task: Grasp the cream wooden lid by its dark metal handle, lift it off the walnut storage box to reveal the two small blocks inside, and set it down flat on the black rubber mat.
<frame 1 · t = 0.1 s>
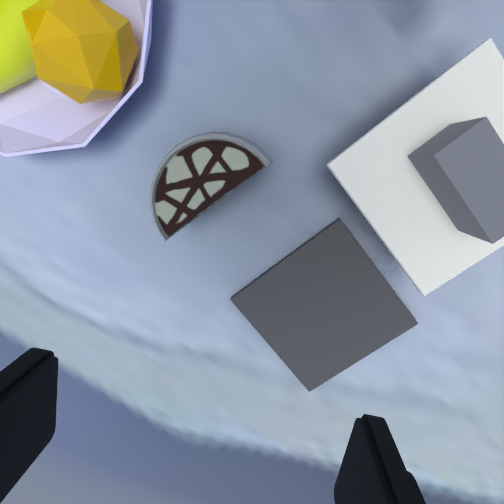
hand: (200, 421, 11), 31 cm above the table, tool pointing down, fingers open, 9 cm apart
lid: (447, 178, 30), point 8 cm above the table, touching storage box
fruit bowl: (57, 22, 37), on the table
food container: (213, 171, 40), on the table
rubber mat: (322, 308, 43), on the table
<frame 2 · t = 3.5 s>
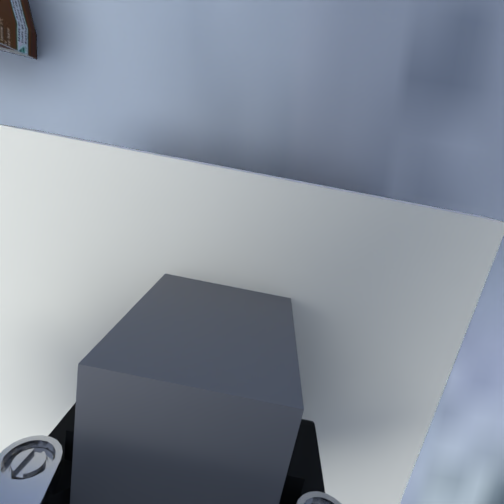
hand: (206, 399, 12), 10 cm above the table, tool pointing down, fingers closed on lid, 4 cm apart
lid: (214, 373, 13), point 8 cm above the table, touching gripper, storage box
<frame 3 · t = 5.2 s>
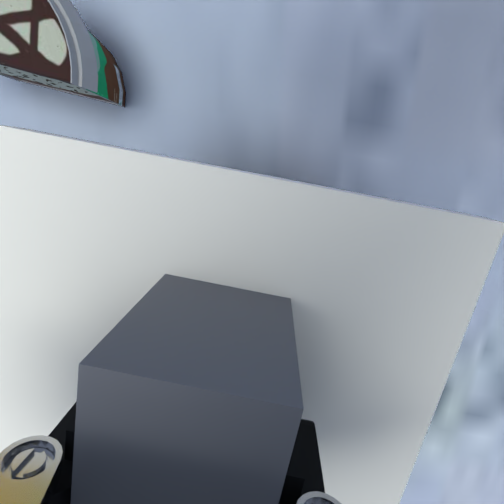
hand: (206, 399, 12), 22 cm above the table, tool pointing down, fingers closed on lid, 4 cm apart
lid: (214, 373, 13), point 20 cm above the table, touching gripper
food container: (77, 56, 29), on the table
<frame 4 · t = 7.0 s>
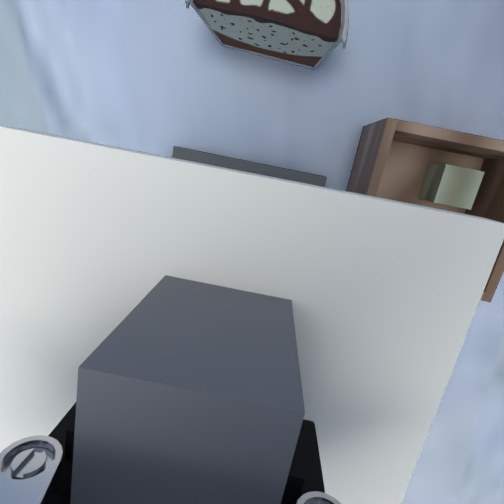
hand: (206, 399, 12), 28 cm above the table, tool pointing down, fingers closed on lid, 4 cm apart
lid: (214, 374, 13), point 26 cm above the table, touching gripper
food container: (276, 23, 33), on the table
storage box: (407, 203, 37), on the table
rubber mat: (236, 234, 39), on the table
sage block: (441, 184, 35), point 1 cm above the table, touching storage box
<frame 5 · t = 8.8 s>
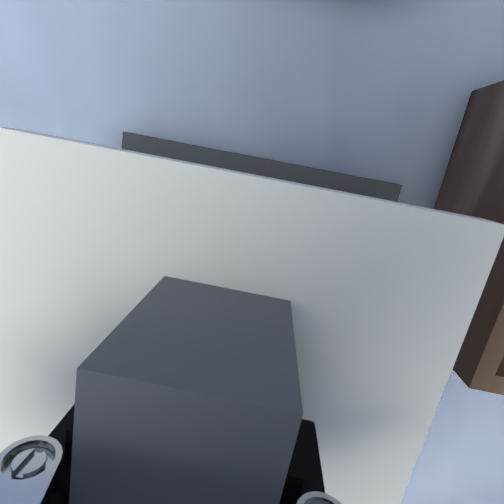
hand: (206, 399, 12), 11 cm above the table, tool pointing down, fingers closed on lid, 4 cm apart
lid: (214, 375, 13), point 10 cm above the table, touching gripper
rubber mat: (238, 284, 23), on the table
when the fingers open (4 cm above the table, at t = 10.4 s): lid drops 2 cm, resting on rubber mat.
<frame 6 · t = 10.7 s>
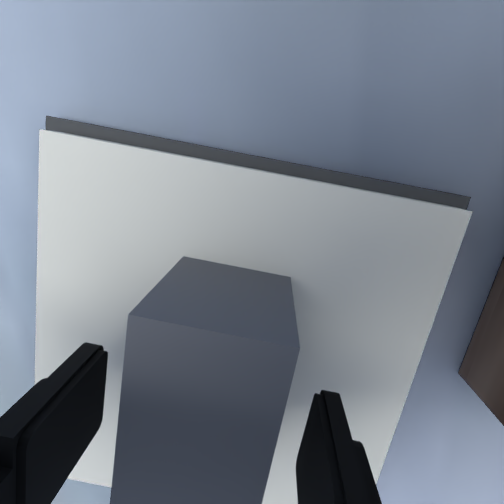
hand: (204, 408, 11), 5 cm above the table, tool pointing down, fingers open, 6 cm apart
lid: (224, 345, 15), point 1 cm above the table, touching rubber mat
rubber mat: (224, 336, 16), on the table
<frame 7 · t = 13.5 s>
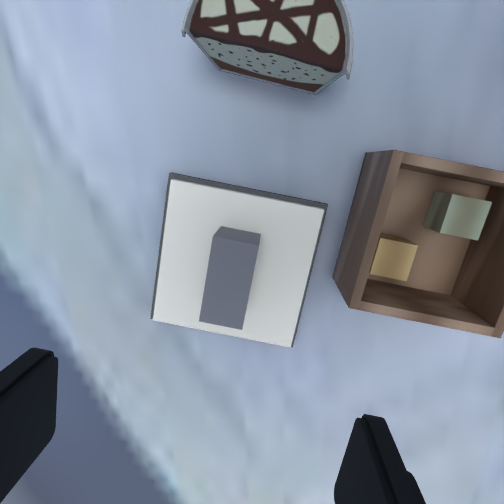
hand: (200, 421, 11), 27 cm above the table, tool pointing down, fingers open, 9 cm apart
lid: (235, 264, 36), point 1 cm above the table, touching rubber mat
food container: (275, 47, 32), on the table
storage box: (411, 230, 35), on the table
rubber mat: (235, 262, 37), on the table
ochre block: (381, 250, 35), point 1 cm above the table, touching storage box
sage block: (446, 212, 34), point 1 cm above the table, touching storage box
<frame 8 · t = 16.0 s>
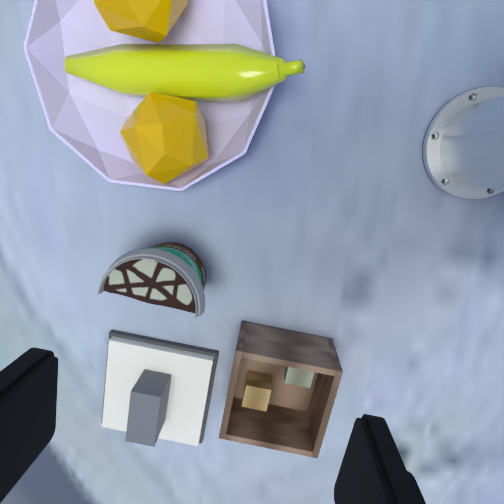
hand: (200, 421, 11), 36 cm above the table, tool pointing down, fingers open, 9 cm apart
lid: (157, 389, 52), point 1 cm above the table, touching rubber mat
fruit bowl: (175, 79, 42), on the table
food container: (176, 256, 48), on the table
storage box: (277, 369, 51), on the table
rubber mat: (158, 386, 53), on the table
ochre block: (257, 382, 51), point 1 cm above the table, touching storage box
sage block: (298, 359, 50), point 1 cm above the table, touching storage box
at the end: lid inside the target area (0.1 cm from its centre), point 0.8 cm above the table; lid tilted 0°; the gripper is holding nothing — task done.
